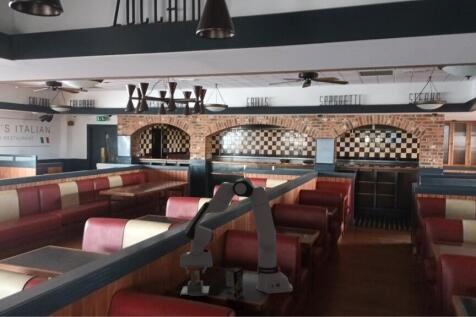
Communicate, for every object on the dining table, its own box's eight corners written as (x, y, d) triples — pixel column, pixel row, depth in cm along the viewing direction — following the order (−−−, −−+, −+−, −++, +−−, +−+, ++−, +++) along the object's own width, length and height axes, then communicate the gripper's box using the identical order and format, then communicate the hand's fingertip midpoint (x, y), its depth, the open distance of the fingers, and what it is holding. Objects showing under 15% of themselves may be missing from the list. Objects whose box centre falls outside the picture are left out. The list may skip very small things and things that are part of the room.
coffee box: (235, 300, 224) (235, 272, 224) (225, 298, 227) (225, 270, 227) (243, 295, 232) (243, 268, 231) (234, 293, 235) (233, 266, 235)
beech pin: (199, 288, 240) (199, 270, 240) (198, 290, 236) (198, 272, 235) (192, 288, 240) (192, 270, 240) (191, 291, 236) (191, 272, 235)
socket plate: (209, 288, 244) (209, 279, 244) (207, 295, 232) (207, 286, 232) (183, 288, 244) (183, 279, 244) (180, 295, 232) (180, 286, 232)
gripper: (179, 250, 246) (177, 270, 236) (212, 249, 245) (211, 270, 236) (181, 255, 250) (178, 275, 241) (213, 255, 250) (212, 275, 241)
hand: (195, 273), depth 238 cm, fingers open, 8 cm apart
